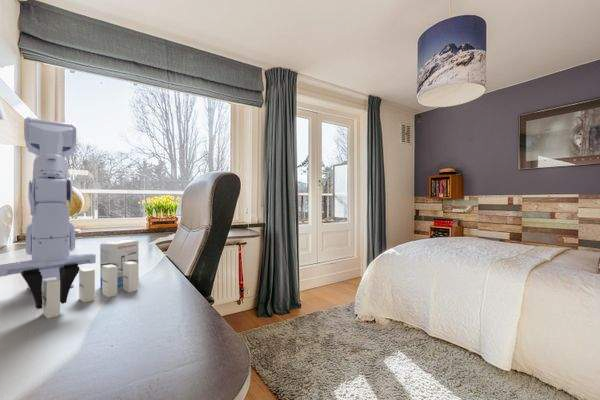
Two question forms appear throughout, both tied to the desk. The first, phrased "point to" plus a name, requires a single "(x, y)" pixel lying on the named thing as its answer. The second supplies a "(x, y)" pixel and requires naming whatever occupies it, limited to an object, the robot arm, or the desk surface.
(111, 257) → the ink box
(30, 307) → the desk surface
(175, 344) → the desk surface
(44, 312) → the domino
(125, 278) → the domino
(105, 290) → the domino
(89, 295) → the domino
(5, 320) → the desk surface
